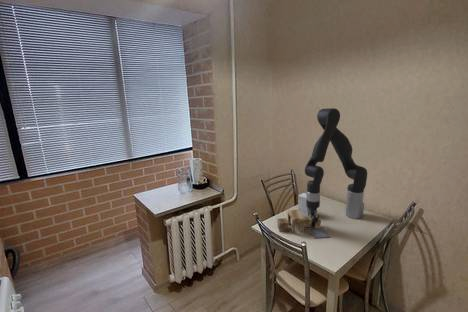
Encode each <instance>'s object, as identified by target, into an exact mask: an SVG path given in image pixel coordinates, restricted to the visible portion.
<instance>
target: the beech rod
mask: <svg viewBox="0 0 468 312" xmlns="http://www.w3.org/2000/svg"><path fill="white" fill-rule="evenodd" d="M302 216H303V218H304V227H308V228H312V229H315V228H321V225H322V221H321V219H320V218H318V221H317V222H315V227H311V223H312V221H311V217H306V216H304V215H302ZM295 226H301V221H295Z"/></svg>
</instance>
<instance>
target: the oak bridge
mask: <svg viewBox="0 0 468 312" xmlns="http://www.w3.org/2000/svg"><path fill="white" fill-rule="evenodd" d="M303 216H304V215H302V214H301V213H300V211H299V210H298V209H289V210H287V220H288V222H289V226H291V233H292V234H293V235H294V234H295V235H296V225H295V221H301V226H300V225H299V226H300V227H299V229H300V230H299V233H300V234H304V233H305V231H304V230H305V226H304V218H303Z"/></svg>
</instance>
